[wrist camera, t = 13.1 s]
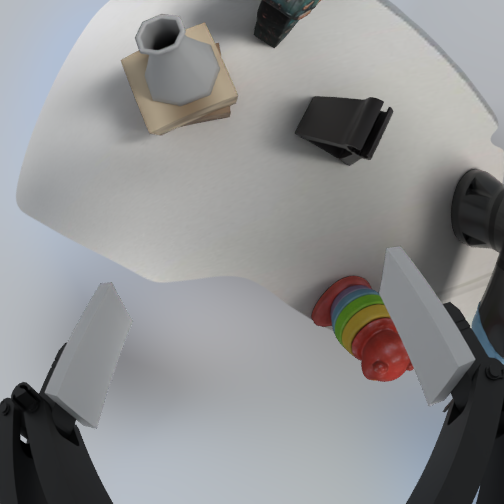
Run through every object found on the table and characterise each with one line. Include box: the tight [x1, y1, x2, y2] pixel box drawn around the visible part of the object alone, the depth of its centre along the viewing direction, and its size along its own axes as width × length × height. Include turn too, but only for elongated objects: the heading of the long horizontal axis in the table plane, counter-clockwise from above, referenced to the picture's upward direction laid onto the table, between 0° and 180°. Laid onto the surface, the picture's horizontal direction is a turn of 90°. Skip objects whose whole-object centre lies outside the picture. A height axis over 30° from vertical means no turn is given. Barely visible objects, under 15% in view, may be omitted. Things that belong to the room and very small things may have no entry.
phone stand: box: [295, 96, 393, 166], centre depth 28 cm, size 9×6×12 cm, turn 63°
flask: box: [135, 14, 220, 106], centre depth 16 cm, size 7×7×10 cm
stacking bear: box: [312, 276, 414, 382], centre depth 36 cm, size 11×10×18 cm
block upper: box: [121, 23, 238, 135], centre depth 23 cm, size 9×9×5 cm
